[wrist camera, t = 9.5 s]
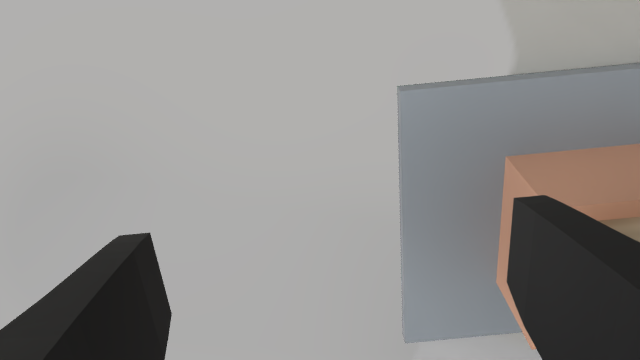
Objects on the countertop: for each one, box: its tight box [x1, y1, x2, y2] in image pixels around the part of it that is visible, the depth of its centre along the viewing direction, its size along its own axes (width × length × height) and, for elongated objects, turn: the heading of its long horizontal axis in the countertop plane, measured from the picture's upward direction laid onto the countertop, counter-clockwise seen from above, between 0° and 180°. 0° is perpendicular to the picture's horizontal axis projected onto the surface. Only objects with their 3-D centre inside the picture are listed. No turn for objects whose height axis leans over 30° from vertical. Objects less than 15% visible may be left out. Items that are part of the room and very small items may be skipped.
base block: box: [496, 144, 640, 349], centre depth 21 cm, size 6×6×4 cm
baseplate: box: [397, 63, 640, 343], centre depth 23 cm, size 14×12×1 cm
